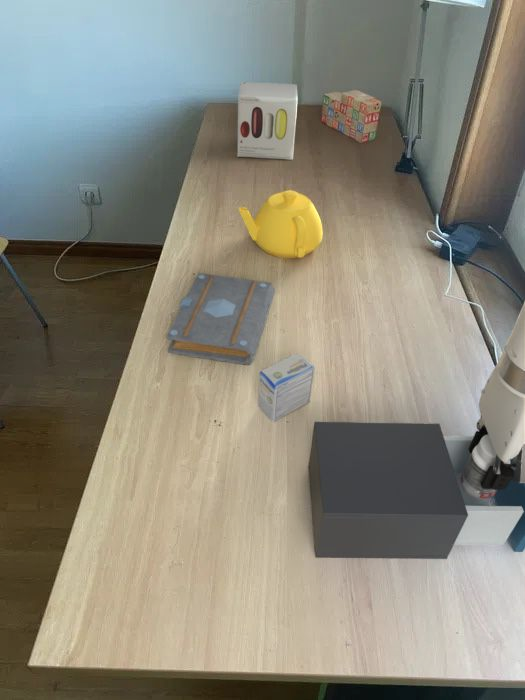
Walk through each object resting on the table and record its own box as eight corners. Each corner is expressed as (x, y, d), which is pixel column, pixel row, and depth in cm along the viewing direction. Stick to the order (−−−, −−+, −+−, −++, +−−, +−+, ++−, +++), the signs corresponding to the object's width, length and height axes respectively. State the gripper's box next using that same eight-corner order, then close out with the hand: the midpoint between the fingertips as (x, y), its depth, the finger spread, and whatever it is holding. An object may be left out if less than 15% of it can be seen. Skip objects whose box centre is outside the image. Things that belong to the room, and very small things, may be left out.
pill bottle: (483, 506, 74) (504, 468, 68) (453, 483, 76) (470, 444, 71) (502, 486, 76) (523, 447, 71) (472, 464, 79) (490, 425, 73)
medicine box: (294, 387, 98) (297, 350, 92) (310, 403, 95) (315, 366, 90) (257, 407, 94) (258, 369, 89) (273, 423, 92) (276, 386, 86)
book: (253, 367, 102) (254, 346, 98) (165, 353, 104) (163, 333, 100) (274, 299, 117) (275, 279, 114) (197, 289, 119) (196, 269, 116)
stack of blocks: (320, 122, 194) (324, 84, 186) (334, 119, 197) (338, 81, 189) (361, 143, 181) (367, 103, 173) (375, 139, 184) (382, 100, 176)
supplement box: (236, 158, 170) (236, 95, 158) (239, 141, 180) (239, 80, 168) (293, 160, 170) (298, 98, 158) (293, 143, 180) (297, 83, 168)
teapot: (308, 222, 142) (313, 173, 133) (334, 262, 128) (341, 211, 120) (231, 230, 138) (230, 181, 129) (249, 273, 124) (250, 221, 116)
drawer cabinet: (422, 468, 86) (439, 423, 79) (446, 559, 75) (468, 515, 68) (308, 467, 85) (314, 421, 78) (315, 557, 75) (323, 513, 68)
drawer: (529, 470, 85) (551, 432, 79) (565, 552, 75) (593, 516, 69) (383, 468, 85) (394, 430, 79) (399, 551, 75) (413, 514, 69)
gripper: (604, 428, 56) (538, 527, 68) (540, 321, 68) (494, 420, 80) (529, 427, 55) (476, 526, 67) (479, 319, 68) (442, 419, 80)
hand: (486, 468), depth 74 cm, fingers closed on pill bottle, 4 cm apart
